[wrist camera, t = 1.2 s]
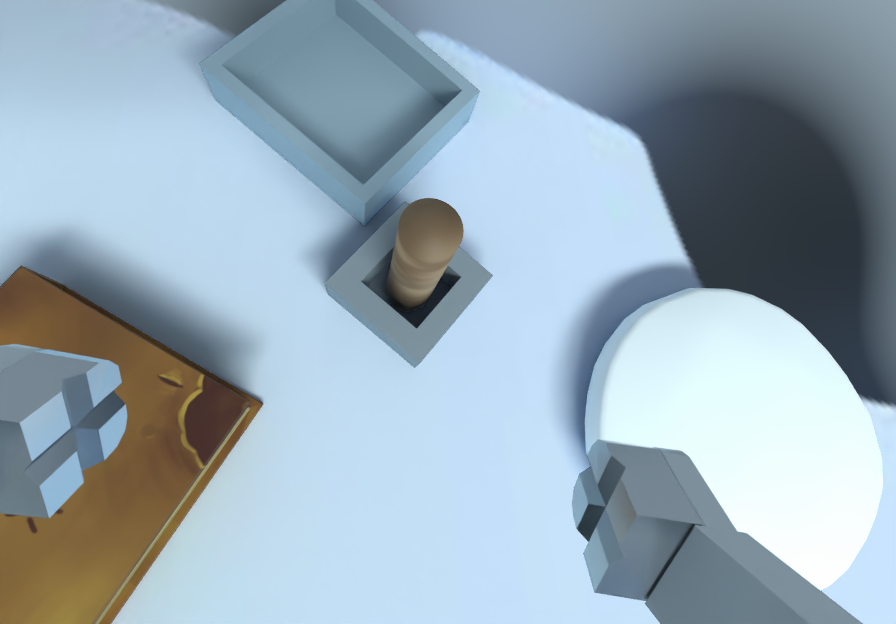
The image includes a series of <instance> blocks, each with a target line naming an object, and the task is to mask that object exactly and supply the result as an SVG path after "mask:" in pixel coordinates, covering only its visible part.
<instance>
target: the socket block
mask: <svg viewBox="0 0 896 624" xmlns="http://www.w3.org/2000/svg"><path fill="white" fill-rule="evenodd" d="M407 206H409V204H408V203H407V202H406V201H405V202H404V203H403V204H402V205H401V206H400V207H399V208H398V209H397V210H396V211H395V212H394V213H393V214H392V215H391V216H390V217H389V218H388V219H387V220H386V221H385V222H384V223H383V224H382V225H381V226H380V227H379V228H378V229H377V230H376V231H375V232H374V233H373V235H372V236H371V237H370V238H369V239H368V240H367V241H366V242H365V243H364V244H363V245H362V246H361V247H360V248H359V249H358V250H357V251H356V252H355V253H354V254H353V255H352V256H351V257H350V258H349V259H348V260H347V261H346V262H345V263H344V264H343V265H342V266H341V267H340V268H339V269H338V270H337V271H336V272H335V273H334V274H333V275H332V276H331V277H330V278H329V279H328V280H327V281H326V282H325V285H326V289H327V293H328V295H329V296H331V297H332V298H333V299H334V300H335V301H336V302H338V303H339V304H340V305H341V306H342V307H344V308H345V309H346V310H347V311H348V312H349V313H351V314H352V315H353V316H354V317H355V318H357V319H358V320H359V321H360V322H361V323H362V324H364V325H365V326H366V327H367V328H368V329H370V330H371V331H372V332H373V333H374V334H375V335H377V336H378V337H379V338H380V339H381V340H382V341H384V342H385V343H386V344H387V345H388V346H390V347H391V348H392V349H393V350H394V351H395V352H397V353H398V354H399V355H400V356H401V357H403V358H404V359H405V360H406V361H407V362H408V363H410V364H411V365H412V366H413V367H414V368H415V367H416V366H417V365H419V364H420V363H421V361H422V360H423V359H424V358H425V357H426V355H427V354H428V353H429V352H430V351H431V349H432V348H433V347H434V346H435V345H436V343H437V342H438V341H439V340H440V339H441V337H442V336H443V335H444V334H445V333H446V331H447V330H448V329H449V328H450V327H451V325H452V324H453V323H454V322H455V321H456V319H457V318H458V317H459V316H460V315H461V313H462V312H463V311H464V310H465V309H466V307H467V306H468V305H469V304H470V303H471V301H472V300H473V299H474V298H475V297H476V295H477V294H478V293H479V292H480V291H481V289H482V288H483V287H484V286H485V285H486V283H487V282H488V281H489V280H490V279H491V277H492V276H493V275H492V274H491V273H490V272H488V271H487V270H486V269H485V268H484V267H483V266H481V265H480V264H479V263H478V262H477V261H475V260H474V259H473V258H472V257H471V256H470V255H468V254H467V253H466V252H465V251H464V250H462V249H461V248H460V247H458V249H457V250H456V252H455V254H454V256H453V257H452V259H451V261H450V262H449V264H448V266H447V268H446V269H445V271H444V273H443V275H442V276H441V278H442V279H443V280H444V281H446V282H447V283H448V284H449V285H450V286H451V287H452V289H451V290H450V291H449V292H448V293H447V294H446V295H445V297H444V298H443V299H442V300H441V301H440V302H439V304H438V305H437V306H436V307H435V308H434V309H433V311H432V312H431V313H430V314H429V315H428V316H427V317H426V319H425V320H424V321H423V322H422V323H421V324H420V326H419V327H418V328H415V327H414V326H413V325H412V324H411V323H409V322H408V321H407V320H406V319H405V318H404V317H402V316H401V315H400V314H399V313H398V312H396V311H395V310H394V309H393V308H392V307H391V306H389V305H388V304H387V303H386V302H385V301H383V300H382V299H381V298H380V297H379V296H378V295H376V294H375V293H374V292H373V291H372V290H370V289H369V288H368V287H367V285H368V284H369V283H370V282H371V281H372V280H373V279H374V278H375V277H376V276H377V275H378V274H379V273H380V272H381V271H382V269H383V268H384V267H385V266H386V265H387V264H388V263H389V262H390V261H391V260H392V255H393V250H394V245H395V240H396V235H397V230H398V225H399V220H400V217H401V215H402V213H403V211H404V210H405V208H406V207H407Z"/></svg>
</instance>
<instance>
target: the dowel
mask: <svg viewBox="0 0 896 624" xmlns="http://www.w3.org/2000/svg"><path fill="white" fill-rule="evenodd" d="M462 238H463V224H462V221H461V218H460V216H459V215H458V213H457V212H456V211H455V209H454V208H452V207H451V206H450V205H449V204H447V203H445V202H443V201H441V200H438V199H433V198H425V199H420V200H417V201H415V202H413V203H411V204H410V205H409V206H407V207H406V208H405V210H404V211H403V213H402V215H401V217H400V220H399V225H398V230H397V235H396V240H395V245H394V250H393V255H392V260H391V265H390V270H389V275H388V280H387V285H386V295H387V298H388V300H389V302H390V303H391V304H392V305H393V306H394V307H395V308H397V309H399V310H401V311H405V312H412V311H416V310H418V309H420V308H421V307H423V306H424V305H425V304H426V302H427V300H428V299H429V297H430V295H431V294H432V292H433V290H434V288H435V287H436V285H437V283H438V281H439V280H440V278H441V276H442V275H443V273H444V271H445V269H446V268H447V266H448V264H449V262H450V261H451V259H452V257H453V256H454V254H455V252H456V250H457V249H458V247H459V245H460V243H461V241H462Z"/></svg>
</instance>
